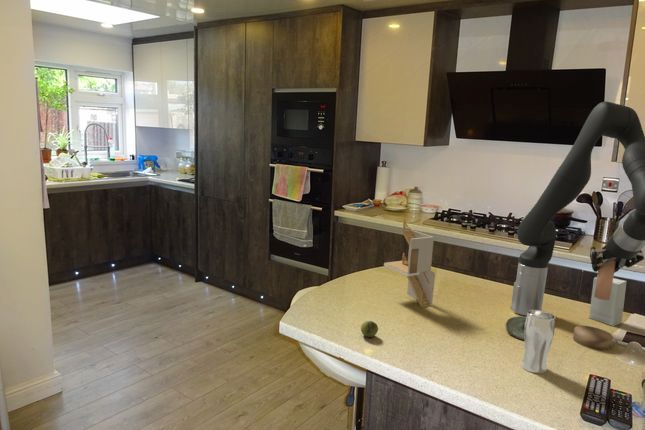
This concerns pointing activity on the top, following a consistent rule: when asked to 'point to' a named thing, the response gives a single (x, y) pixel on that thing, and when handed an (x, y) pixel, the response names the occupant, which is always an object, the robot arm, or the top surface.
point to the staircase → (417, 266)
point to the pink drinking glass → (605, 281)
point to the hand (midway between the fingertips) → (603, 269)
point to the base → (592, 337)
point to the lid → (516, 327)
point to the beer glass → (537, 340)
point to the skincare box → (609, 304)
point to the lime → (369, 329)
